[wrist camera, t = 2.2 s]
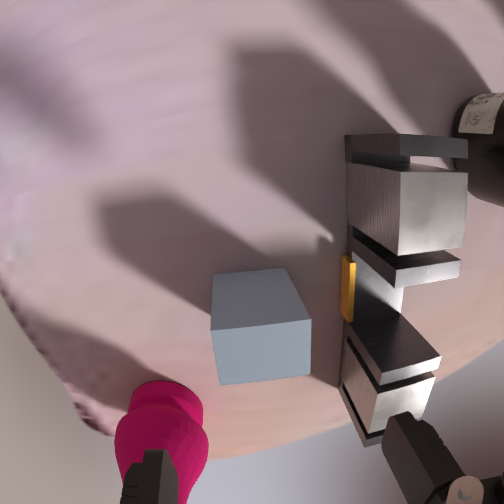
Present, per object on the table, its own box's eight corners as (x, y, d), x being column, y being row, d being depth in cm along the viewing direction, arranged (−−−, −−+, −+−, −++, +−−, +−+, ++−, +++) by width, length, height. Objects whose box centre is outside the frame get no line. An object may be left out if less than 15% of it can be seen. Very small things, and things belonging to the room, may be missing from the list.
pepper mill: (226, 405, 25) (245, 636, 6) (176, 441, 27) (168, 633, 8) (156, 360, 23) (112, 623, 4) (111, 403, 25) (61, 608, 6)
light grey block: (212, 274, 22) (210, 330, 15) (284, 267, 22) (311, 318, 15) (219, 320, 23) (220, 385, 16) (286, 312, 23) (310, 374, 16)
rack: (338, 135, 19) (392, 133, 13) (402, 136, 20) (467, 139, 13) (333, 389, 26) (359, 448, 19) (382, 378, 26) (415, 431, 20)
